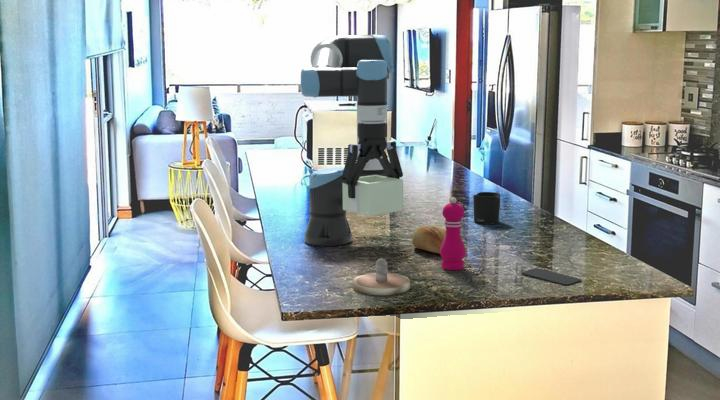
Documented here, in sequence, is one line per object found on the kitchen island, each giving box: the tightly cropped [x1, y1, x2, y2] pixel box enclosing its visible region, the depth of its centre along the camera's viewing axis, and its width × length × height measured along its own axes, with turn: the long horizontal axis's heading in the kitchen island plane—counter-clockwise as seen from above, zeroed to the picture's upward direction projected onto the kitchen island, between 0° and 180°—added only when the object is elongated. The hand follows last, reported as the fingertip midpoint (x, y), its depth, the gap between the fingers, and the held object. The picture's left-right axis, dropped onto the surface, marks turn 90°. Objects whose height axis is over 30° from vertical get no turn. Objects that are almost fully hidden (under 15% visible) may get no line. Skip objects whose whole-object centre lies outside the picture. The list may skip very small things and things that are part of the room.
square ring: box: [342, 175, 404, 217], centre depth 201 cm, size 11×11×8 cm
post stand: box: [352, 258, 411, 296], centre depth 204 cm, size 15×15×8 cm
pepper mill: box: [439, 197, 466, 271], centre depth 220 cm, size 7×7×20 cm
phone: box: [521, 267, 582, 287], centre depth 211 cm, size 7×1×15 cm
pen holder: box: [472, 191, 501, 225], centre depth 278 cm, size 9×9×10 cm
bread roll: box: [411, 224, 446, 255], centre depth 239 cm, size 10×15×8 cm, turn 37°
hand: (372, 207), depth 202 cm, fingers closed on square ring, 11 cm apart
